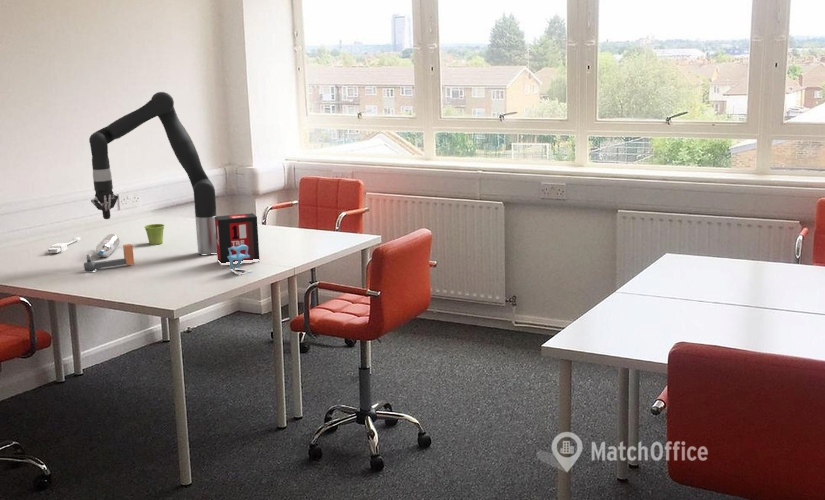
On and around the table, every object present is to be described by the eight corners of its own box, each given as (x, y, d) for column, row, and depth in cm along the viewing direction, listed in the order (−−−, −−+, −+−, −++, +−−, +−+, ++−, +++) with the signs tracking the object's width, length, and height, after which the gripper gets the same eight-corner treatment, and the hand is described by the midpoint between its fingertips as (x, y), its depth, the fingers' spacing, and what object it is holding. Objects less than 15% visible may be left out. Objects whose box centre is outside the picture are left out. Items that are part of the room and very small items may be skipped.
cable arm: (85, 271, 375) (83, 251, 373) (83, 269, 379) (81, 250, 377) (134, 264, 385) (132, 245, 383) (131, 262, 389) (130, 243, 387)
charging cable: (84, 241, 441) (83, 235, 440) (58, 254, 409) (57, 247, 408) (74, 242, 441) (73, 235, 440) (47, 254, 409) (46, 247, 408)
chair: (240, 269, 377) (238, 241, 374) (253, 271, 372) (251, 243, 369) (225, 272, 371) (223, 244, 368) (238, 275, 366) (237, 247, 363)
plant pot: (163, 245, 424) (161, 227, 422) (143, 246, 424) (141, 228, 422) (168, 241, 433) (167, 223, 431) (149, 241, 433) (147, 224, 431)
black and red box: (221, 266, 383) (218, 220, 378) (217, 261, 391) (214, 216, 386) (259, 262, 388) (256, 216, 384) (255, 257, 396) (252, 213, 392)
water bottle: (121, 235, 421) (110, 247, 396) (118, 249, 422) (107, 261, 398) (106, 231, 419) (94, 243, 395) (103, 245, 421) (91, 258, 397)
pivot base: (99, 269, 381) (97, 253, 380) (95, 272, 375) (93, 256, 374) (85, 269, 381) (83, 253, 379) (80, 273, 375) (78, 256, 373)
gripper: (95, 182, 377) (99, 222, 381) (120, 177, 388) (125, 216, 392) (83, 181, 381) (88, 221, 385) (109, 176, 392) (114, 215, 396)
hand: (107, 218), depth 389 cm, fingers closed
